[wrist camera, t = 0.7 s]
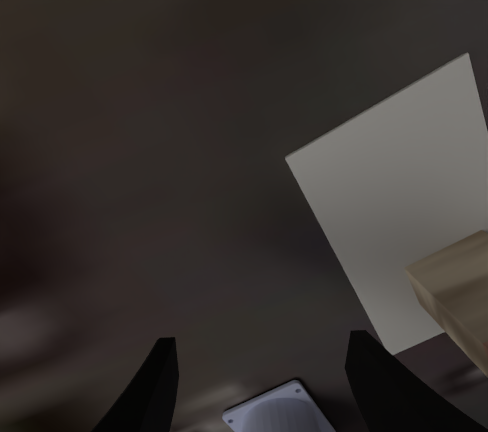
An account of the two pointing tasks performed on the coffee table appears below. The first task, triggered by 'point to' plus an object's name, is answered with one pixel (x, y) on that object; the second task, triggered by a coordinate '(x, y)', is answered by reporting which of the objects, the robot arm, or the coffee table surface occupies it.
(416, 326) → the grey mat
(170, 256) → the coffee table surface
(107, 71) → the coffee table surface
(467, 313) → the wooden block
